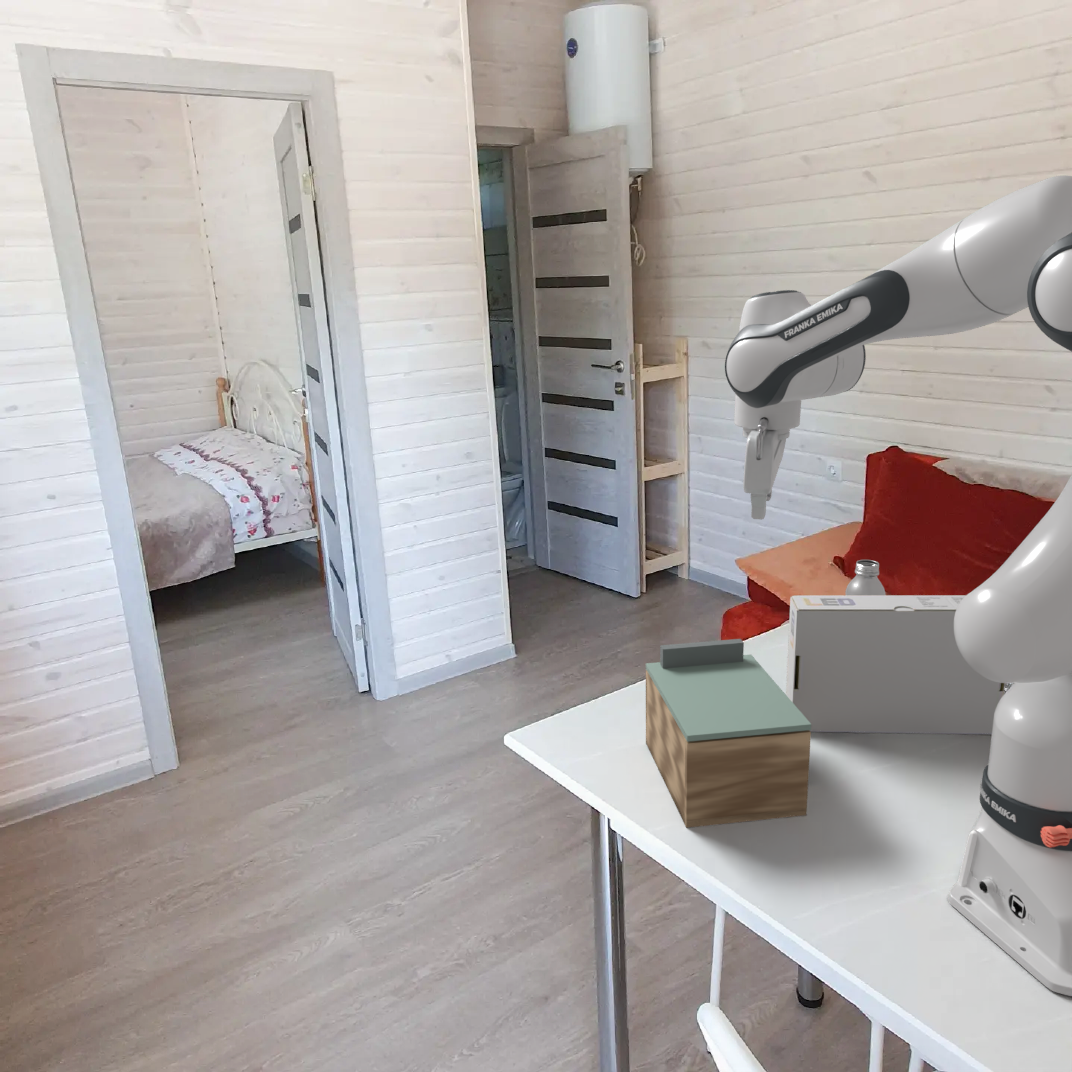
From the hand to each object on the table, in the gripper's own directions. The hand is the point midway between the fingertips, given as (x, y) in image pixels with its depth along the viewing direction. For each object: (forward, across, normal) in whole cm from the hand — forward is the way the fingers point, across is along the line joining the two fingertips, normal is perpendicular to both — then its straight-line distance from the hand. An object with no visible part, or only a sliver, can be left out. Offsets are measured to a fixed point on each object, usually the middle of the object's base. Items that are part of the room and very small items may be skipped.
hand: (761, 508), depth 130 cm
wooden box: (+35, -15, +2) cm, 38 cm away
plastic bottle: (+36, +25, -16) cm, 47 cm away
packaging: (+35, +7, -20) cm, 41 cm away
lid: (+23, -15, +3) cm, 27 cm away
